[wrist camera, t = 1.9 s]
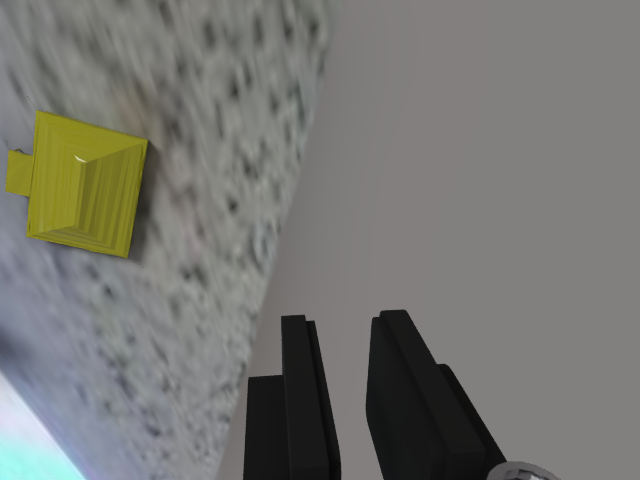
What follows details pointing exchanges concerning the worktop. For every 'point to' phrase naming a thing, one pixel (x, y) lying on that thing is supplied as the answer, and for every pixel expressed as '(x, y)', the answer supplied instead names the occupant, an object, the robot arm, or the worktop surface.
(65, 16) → the worktop surface
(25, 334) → the worktop surface
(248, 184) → the worktop surface
